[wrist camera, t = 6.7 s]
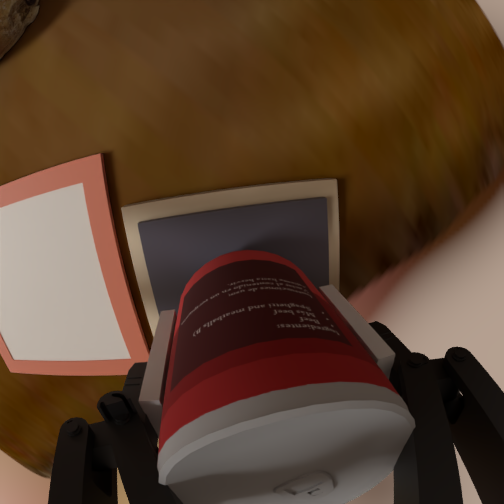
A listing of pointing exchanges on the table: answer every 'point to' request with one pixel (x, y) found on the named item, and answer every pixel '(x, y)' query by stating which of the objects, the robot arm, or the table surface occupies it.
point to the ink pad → (231, 234)
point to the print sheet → (65, 276)
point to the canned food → (272, 393)
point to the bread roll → (15, 21)
